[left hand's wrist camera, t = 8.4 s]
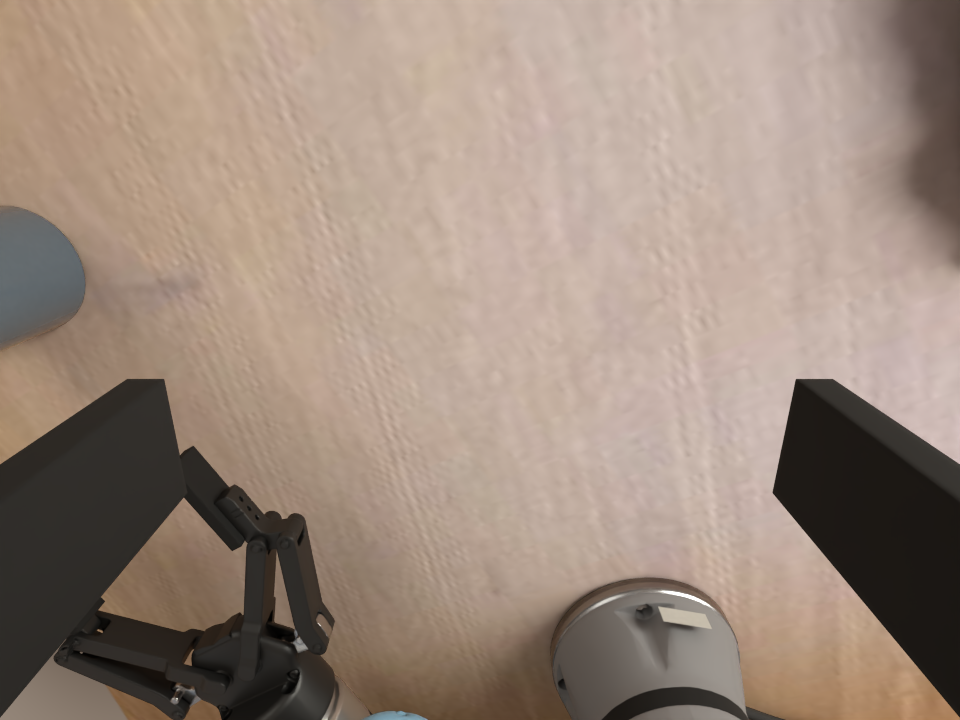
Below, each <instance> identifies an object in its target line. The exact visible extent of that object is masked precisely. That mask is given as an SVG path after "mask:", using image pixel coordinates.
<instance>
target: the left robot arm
mask: <svg viewBox="0 0 960 720" xmlns="http://www.w3.org/2000/svg"><path fill="white" fill-rule="evenodd" d="M186 494H187V488H186V483H185V479H184V474H183V469H182V464H181V459H180V454H179V449H178V445H177V440H176V435H175V430H174V425H173V420H172V415H171V411H170V406H169V401H168V396H167V391H166V386H165V381H164V379H127V380H125V381H124V382H122V383H121V384H119V385H118V386H116V387H115V388H113V389H112V390H110V391H109V392H107V393H106V394H104V395H103V396H101V397H100V398H98V399H97V400H95V401H94V402H92V403H91V404H89V405H88V406H86V407H85V408H84V409H82V410H81V411H79V412H78V413H76V414H75V415H73V416H72V417H70V418H69V419H67V420H66V421H64V422H63V423H61V424H60V425H58V426H57V427H55V428H54V429H52V430H51V431H49V432H48V433H46V434H45V435H43V436H42V437H40V438H39V439H37V440H36V441H34V442H33V443H31V444H30V445H28V446H27V447H26V448H24V449H23V450H21V451H20V452H18V453H17V454H15V455H14V456H12V457H11V458H9V459H8V460H6V461H5V462H3V463H2V464H0V717H1V716H2V715H3V713H4V712H5V711H6V710H7V709H8V707H9V706H10V705H11V704H12V703H13V701H14V700H15V699H16V698H17V697H18V695H19V694H20V693H21V692H22V691H23V689H24V688H25V687H26V686H27V685H28V683H29V682H30V681H31V680H32V679H33V677H34V676H35V675H36V674H37V673H38V671H39V670H40V669H41V668H42V667H43V665H44V664H45V663H46V662H47V661H48V659H49V658H50V657H51V656H52V655H53V653H54V652H55V651H56V650H57V649H58V647H59V646H60V645H61V644H62V643H63V641H64V640H65V639H66V638H67V637H68V635H69V634H70V633H71V632H72V631H73V630H74V628H75V627H76V626H77V625H78V624H79V622H80V621H81V620H82V619H83V618H84V616H85V615H86V614H87V613H88V612H89V610H90V609H91V608H92V607H93V606H94V604H95V603H96V602H97V601H98V600H99V598H100V597H101V596H102V595H103V594H104V592H105V591H106V590H107V589H108V588H109V586H110V585H111V584H112V583H113V582H114V580H115V579H116V578H117V577H118V576H119V574H120V573H121V572H122V571H123V570H124V568H125V567H126V566H127V565H128V564H129V562H130V561H131V560H132V559H133V558H134V556H135V555H136V554H137V553H138V552H139V550H140V549H141V548H142V547H143V546H144V544H145V543H146V542H147V541H148V540H149V538H150V537H151V536H152V535H153V534H154V532H155V531H156V530H157V529H158V528H159V526H160V525H161V524H162V523H163V522H164V520H165V519H166V518H167V517H168V516H169V514H170V513H171V512H172V511H173V510H174V508H175V507H176V506H177V505H178V504H179V502H180V501H181V500H182V499H183V498H184V496H185V495H186ZM773 494H774V495H775V496H776V498H777V499H778V500H779V501H780V502H781V504H782V505H783V506H784V507H785V508H786V510H787V511H788V512H789V513H790V514H791V516H792V517H793V518H794V519H795V520H796V522H797V523H798V524H799V525H800V526H801V528H802V529H803V530H804V531H805V532H806V534H807V535H808V536H809V537H810V538H811V540H812V541H813V542H814V543H815V544H816V546H817V547H818V548H819V549H820V550H821V552H822V553H823V554H824V555H825V556H826V558H827V559H828V560H829V561H830V562H831V564H832V565H833V566H834V567H835V568H836V570H837V571H838V572H839V573H840V574H841V576H842V577H843V578H844V579H845V580H846V582H847V583H848V584H849V585H850V586H851V588H852V589H853V590H854V591H855V592H856V594H857V595H858V596H859V597H860V598H861V600H862V601H863V602H864V603H865V604H866V606H867V607H868V608H869V609H870V610H871V612H872V613H873V614H874V615H875V616H876V618H877V619H878V620H879V621H880V622H881V624H882V625H883V626H884V627H885V628H886V630H887V631H888V632H889V633H890V634H891V635H892V637H893V638H894V639H895V640H896V641H897V643H898V644H899V645H900V646H901V647H902V649H903V650H904V651H905V652H906V653H907V655H908V656H909V657H910V658H911V659H912V661H913V662H914V663H915V664H916V665H917V667H918V668H919V669H920V670H921V671H922V673H923V674H924V675H925V676H926V677H927V679H928V680H929V681H930V682H931V683H932V685H933V686H934V687H935V688H936V689H937V691H938V692H939V693H940V694H941V695H942V697H943V698H944V699H945V700H946V701H947V703H948V704H949V705H950V706H951V707H952V709H953V710H954V711H955V712H956V713H957V715H958V716H959V717H960V464H958V463H957V462H955V461H954V460H952V459H951V458H949V457H948V456H946V455H945V454H943V453H942V452H940V451H939V450H937V449H936V448H934V447H933V446H932V445H930V444H929V443H927V442H926V441H924V440H923V439H921V438H920V437H918V436H917V435H915V434H914V433H912V432H911V431H909V430H908V429H906V428H905V427H903V426H902V425H900V424H899V423H897V422H896V421H894V420H893V419H891V418H890V417H888V416H887V415H885V414H884V413H882V412H881V411H879V410H878V409H876V408H875V407H874V406H872V405H871V404H869V403H868V402H866V401H865V400H863V399H862V398H860V397H859V396H857V395H856V394H854V393H853V392H851V391H850V390H848V389H847V388H845V387H844V386H842V385H841V384H839V383H838V382H836V381H835V380H833V379H796V381H795V386H794V391H793V396H792V401H791V406H790V411H789V415H788V420H787V425H786V430H785V435H784V440H783V445H782V449H781V454H780V459H779V464H778V469H777V474H776V479H775V483H774V488H773Z"/></svg>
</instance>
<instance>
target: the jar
mask: <svg viewBox="0 0 960 720" xmlns="http://www.w3.org/2000/svg"><path fill="white" fill-rule="evenodd" d="M84 294H85V276H84V270H83V267H82V264H81V261H80V259H79V256H78V254H77V252H76V251H75V249H74V247H73V246H72V244H71V243H70V242H69V240H68V239H67V238H66V237H65V236H64V235H63V233H62V232H61V231H60V230H59V229H57V228H56V227H55V226H54V225H53V224H51V223H50V222H49V221H47V220H46V219H44V218H42V217H41V216H39V215H37V214H35V213H33V212H30V211H28V210H25V209H22V208H18V207H13V206H0V352H2V351H4V350H7V349H9V348H11V347H14V346H16V345H18V344H20V343H23V342H25V341H27V340H30V339H32V338H34V337H36V336H39V335H41V334H43V333H46V332H48V331H50V330H52V329H55V328H57V327H59V326H61V325H63V324H65V323H66V322H68V321H69V320H70V319H71V318H72V317H73V316H74V315H75V314H76V313H77V311H78V310H79V308H80V306H81V304H82V301H83V298H84Z"/></svg>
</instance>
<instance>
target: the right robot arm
mask: <svg viewBox="0 0 960 720" xmlns="http://www.w3.org/2000/svg"><path fill="white" fill-rule="evenodd" d="M180 459H181V464H182V469H183V474H184V479H185V483H186V488H187V494H186V495H185V496H184V498H185V499H186V500H187V501H188V502H189V503H190V505H191V506H192V507H193V508H194V509H195V510H196V511H197V512H198V514H199V515H200V516H201V517H202V518H203V519H204V520H205V521H206V522H207V524H208V525H209V526H210V527H211V528H212V529H213V530H214V531H215V533H216V534H217V535H218V536H219V537H220V538H221V539H222V540H223V541H224V543H225V544H226V545H227V546H228V547H229V548H230V549H231V550H232V551H233V550H235V549H237V548H239V547H241V546H242V544H243V543H244V541H246V542H247V543H248V544H247V547H246V572H245V597H244V615H242V614H241V613H238V614H236V615H234V616H232V617H231V618H230V619H228V620H227V621H226V622H225V623H222V624H218V625H214V626H212V627H210V628H208V629H206V630H205V631H201V630H197V629H190V630H188V631H186V632H181V631H177V630H173V629H169V628H165V627H161V626H157V625H153V624H149V623H145V622H141V621H138V620H134V619H130V618H126V617H122V616H118V615H114V614H110V613H106V612H102V611H98V609H99V608H100V607H101V606H102V604H103V603H104V602H105V601H104V600H103V599H102V598H101V597H100V598H99V600H98V601H97V602H96V603H95V604H94V606H93V607H92V608H91V609H90V610H89V612H88V613H87V614H86V615H85V616H84V618H83V619H82V620H81V621H80V622H79V624H78V625H77V626H76V627H75V628H74V630H73V631H72V632H71V633H70V634H69V635H68V637H67V638H66V641H65V642H64V643H63V644H62V645H61V647H60V648H59V650H58V652H57V653H56V654H55V656H54V661H55V662H56V663H57V664H58V665H60V666H63V667H65V668H67V669H70V670H72V671H74V672H77V673H79V674H82V675H84V676H86V677H89V678H91V679H93V680H96V681H98V682H100V683H103V684H105V685H108V686H110V687H112V688H115V689H117V690H119V691H122V692H124V693H127V694H129V695H131V696H134V697H136V698H138V699H141V700H143V701H145V702H148V703H150V704H153V705H154V706H156V707H157V708H158V709H160V710H161V711H162V712H163V713H165V714H166V715H167V716H169V717H170V718H171V719H173V720H183V719H184V718H185V717H186V715H187V713H188V711H189V709H190V707H191V706H192V705H194V704H195V703H197V702H198V701H200V700H201V699H202V700H204V701H206V702H209V703H211V704H213V705H214V706H216V707H217V708H218V709H219V711H220V715H221V719H222V720H427V719H426V718H424V717H421V716H419V715H417V714H413V713H406V712H403V711H398V712H396V711H384V712H378V713H375V714H371V712H370V711H369V710H368V709H367V707H366V706H365V705H364V704H363V703H362V702H361V701H360V700H359V699H358V697H357V696H356V695H355V694H354V693H353V692H352V691H351V690H350V689H349V687H348V686H347V685H346V684H345V683H344V682H343V681H342V680H341V678H339V677H337V676H336V675H334V671H333V669H332V668H331V667H330V666H329V665H328V664H327V662H326V661H325V660H324V659H323V658H322V657H321V656H320V655H322V654H324V653H325V652H326V649H327V646H328V643H329V639H330V636H331V633H332V629H333V626H334V622H335V621H334V618H333V617H332V615H331V614H330V613H329V611H328V610H327V608H326V607H325V605H324V604H323V602H322V599H321V594H320V589H319V584H318V579H317V574H316V570H315V565H314V560H313V555H312V550H311V545H310V540H309V536H308V531H307V526H306V521H305V518H304V517H303V516H302V515H300V514H297V513H294V514H291V515H290V516H289V517H288V519H281V516H280V514H279V513H277V512H275V511H269V512H267V513H266V514H265V515H264V514H263V513H262V512H261V511H260V509H259V508H258V507H257V506H256V505H255V503H254V502H253V501H251V499H250V498H249V496H247V494H246V493H245V492H244V490H243V489H242V488H240V487H238V486H237V485H233V486H231V487H228V485H227V484H226V483H225V482H224V481H223V480H222V478H221V477H220V476H219V475H218V474H217V473H216V471H215V470H214V469H213V468H212V467H211V466H210V464H209V463H208V462H207V461H206V460H205V459H204V457H203V456H202V455H201V454H200V453H199V452H198V450H197V449H196V448H195V447H194V446H192V447H190V448H189V449H187V450H185V451H184V452H183V453H182V454H181V455H180ZM276 552H277V553H278V557H279V561H280V566H281V570H282V574H283V579H284V583H285V587H286V592H287V596H288V600H289V605H290V609H291V613H292V617H293V622H294V625H295V630H294V629H292V628H290V627H286V626H283V625H280V624H277V623H275V622H274V616H275V600H276V598H275V597H274V584H275V568H276ZM98 629H100V630H102V631H103V633H101V632H98V631H97V630H98ZM193 649H194V651H193V653H192V666H189V665H185V664H184V663H185V661H186V659H187V657H188V656H189V654H190V652H191V651H192V650H193ZM80 652H83V653H82V654H81V653H80ZM550 656H551V665H552V672H553V678H554V683H555V686H556V689H557V691H558V693H559V695H560V697H561V699H562V701H563V703H564V705H565V707H566V709H567V711H568V713H569V715H570V716H571V718H572V720H749V719H750V720H784V719H781V718H777V717H774V716H771V715H768V714H766V713H763V712H760V711H757V710H755V709H752V708H749V707H746V706H745V698H744V690H743V682H742V675H741V669H740V653H739V648H738V643H737V640H736V637H735V634H734V632H733V630H732V628H731V626H730V624H729V622H728V620H727V619H726V617H725V615H724V613H723V611H722V610H721V608H720V607H719V606H718V605H717V604H716V603H715V602H714V601H713V600H712V599H711V598H710V597H709V596H707V595H706V594H705V593H703V592H702V591H700V590H698V589H696V588H694V587H692V586H690V585H687V584H685V583H682V582H678V581H674V580H669V579H663V578H636V579H629V580H624V581H620V582H616V583H613V584H610V585H607V586H604V587H602V588H600V589H598V590H596V591H594V592H592V593H590V594H589V595H587V596H585V597H584V598H582V599H581V600H580V601H578V602H577V603H576V604H575V605H574V606H573V607H572V608H571V609H570V610H569V611H568V612H567V613H566V614H565V615H564V617H563V618H562V619H561V621H560V623H559V624H558V626H557V628H556V630H555V632H554V635H553V638H552V643H551V651H550Z"/></svg>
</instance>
